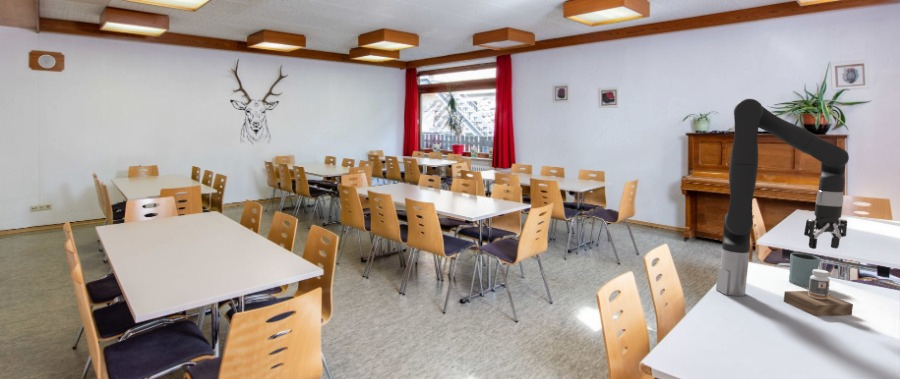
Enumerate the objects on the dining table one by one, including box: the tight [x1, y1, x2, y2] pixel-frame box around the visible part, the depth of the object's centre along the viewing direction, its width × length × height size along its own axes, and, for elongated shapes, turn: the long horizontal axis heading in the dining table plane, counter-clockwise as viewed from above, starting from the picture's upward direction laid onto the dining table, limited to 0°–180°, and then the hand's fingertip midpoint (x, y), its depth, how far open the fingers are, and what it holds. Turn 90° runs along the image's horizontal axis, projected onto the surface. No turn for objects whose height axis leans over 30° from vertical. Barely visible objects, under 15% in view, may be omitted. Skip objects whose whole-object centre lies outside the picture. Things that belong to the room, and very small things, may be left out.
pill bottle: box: [807, 268, 830, 300], centre depth 174 cm, size 6×6×10 cm
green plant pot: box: [788, 252, 821, 288], centre depth 202 cm, size 10×10×12 cm
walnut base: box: [783, 290, 854, 317], centre depth 175 cm, size 14×14×4 cm
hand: (823, 248), depth 173 cm, fingers open, 8 cm apart
